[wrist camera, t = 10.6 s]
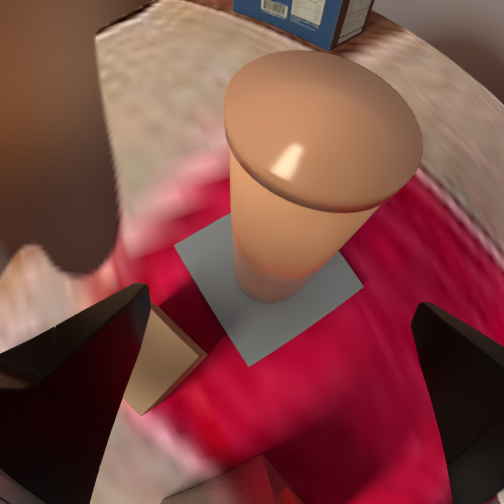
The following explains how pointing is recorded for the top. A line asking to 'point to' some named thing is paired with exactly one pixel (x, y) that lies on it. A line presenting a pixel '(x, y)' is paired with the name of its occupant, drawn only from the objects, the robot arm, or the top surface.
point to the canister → (309, 163)
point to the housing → (241, 487)
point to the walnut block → (161, 362)
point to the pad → (250, 311)
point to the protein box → (311, 17)
